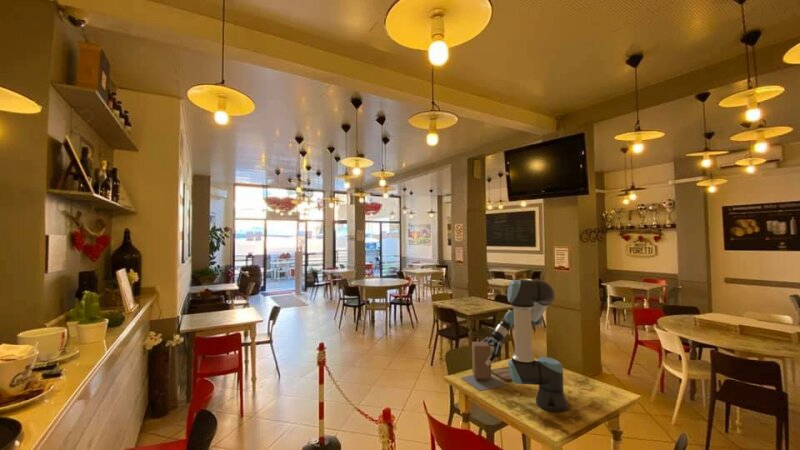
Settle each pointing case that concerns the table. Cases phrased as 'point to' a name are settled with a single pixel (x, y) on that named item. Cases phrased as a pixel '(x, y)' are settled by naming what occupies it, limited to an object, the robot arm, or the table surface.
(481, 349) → the wooden block
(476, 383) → the gray tile
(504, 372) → the walnut board
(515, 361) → the robot arm
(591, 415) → the table surface
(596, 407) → the table surface
